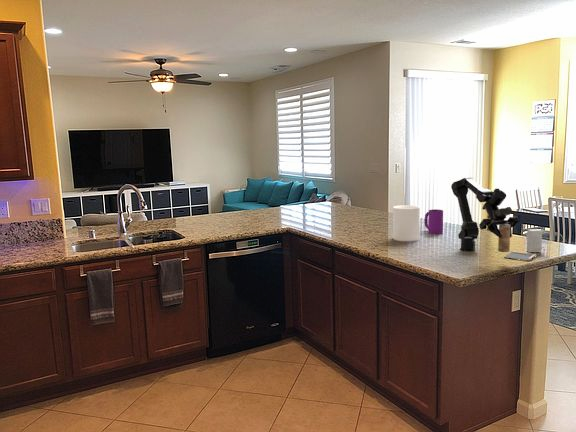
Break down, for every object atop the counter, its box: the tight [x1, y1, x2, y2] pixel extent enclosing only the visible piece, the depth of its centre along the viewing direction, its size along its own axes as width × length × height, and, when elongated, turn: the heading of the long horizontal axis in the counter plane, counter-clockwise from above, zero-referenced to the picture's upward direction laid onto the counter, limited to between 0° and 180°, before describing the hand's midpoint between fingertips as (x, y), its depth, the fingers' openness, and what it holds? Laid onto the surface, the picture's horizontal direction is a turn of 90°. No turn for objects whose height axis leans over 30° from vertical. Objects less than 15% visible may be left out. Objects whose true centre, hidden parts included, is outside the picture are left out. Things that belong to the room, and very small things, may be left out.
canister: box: [392, 204, 421, 242], centre depth 295 cm, size 16×16×20 cm
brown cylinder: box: [497, 224, 511, 253], centre depth 230 cm, size 5×5×13 cm
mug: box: [424, 208, 444, 235], centre depth 313 cm, size 9×16×15 cm, turn 22°
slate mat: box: [503, 250, 537, 262], centre depth 242 cm, size 12×12×1 cm
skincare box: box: [526, 228, 543, 253], centre depth 252 cm, size 6×4×12 cm
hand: (506, 237), depth 228 cm, fingers closed on brown cylinder, 5 cm apart
